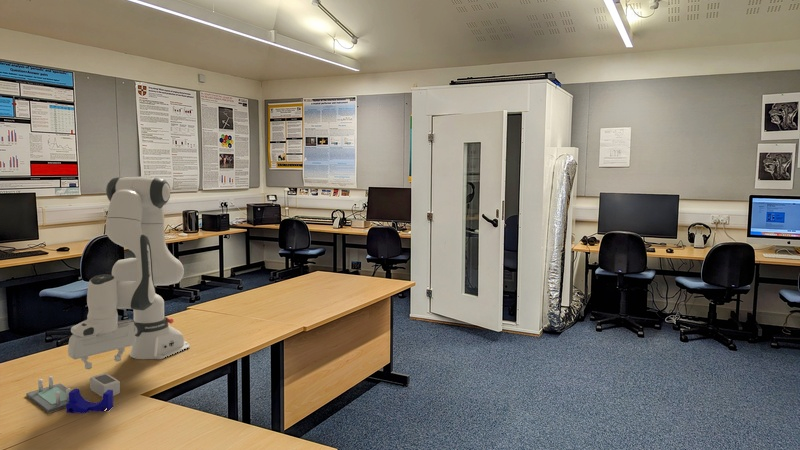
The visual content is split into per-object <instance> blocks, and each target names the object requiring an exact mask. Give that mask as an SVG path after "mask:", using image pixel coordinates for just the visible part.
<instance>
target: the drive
mask: <svg viewBox="0 0 800 450" xmlns="http://www.w3.org/2000/svg"><path fill="white" fill-rule="evenodd" d="M89 383H90V387H89V389H90V390H91V391H92V392H94V393H95V394H96V395H98V394H99V396H100V397H101V396H102V397H101V398H103V394H104V393H105V392H106V391H107V390H113V395H114V396H117V395H119V393H120V394H121V381H119V380H118V379H116V378H115V377H113V376H112V375H110V374H108V373H107V372H104V373H100V374H97V375H94V376H90V377H89ZM116 394H117V395H116Z"/></svg>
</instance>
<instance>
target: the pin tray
mask: <svg viewBox="0 0 800 450" xmlns="http://www.w3.org/2000/svg"><path fill="white" fill-rule="evenodd" d="M37 383H38V386H37V387H38V389H36V390H33V391H29V392H27V393H25V394H26V397H27V398H28V399H29V400H31V402H34V403H35V404H36V405H37V406H38V407H40V408H41V410H43V411H45V412H46V413H48V414H50V413H52V412H53V413H54V412H57V411H59V410H63V409H65V408H66V404H67V403H68V402H69V392H70V391H72V390H71V388H70V387H66V386H65V385H64V384H62V383H56V384H54V376H52V375H51V376H48V386H45V387H44V379H42V378H40V379H38V380H37Z"/></svg>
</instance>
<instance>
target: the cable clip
mask: <svg viewBox="0 0 800 450" xmlns="http://www.w3.org/2000/svg"><path fill="white" fill-rule="evenodd" d="M112 407H113V408H114V396H113V390H107V391H106V392H105V393H104V394H103V397H101V400H100V401H96V402H93V401H88V400H87V399H85V398H84V397H83V396H82V393H81V391H80V388H73V389H72V390H71V391H70V392H69V402H68V403H67V404H66V410H65V411H66V414H68V413H69V414H87V413H89V412H105V411H104V410H105V409H106V408H107V410H106V411H109V410H110V409H111V408H112ZM113 408H112V409H113ZM112 409H111V410H112ZM111 410H110V411H111ZM110 411H109V412H110Z"/></svg>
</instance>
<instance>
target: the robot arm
mask: <svg viewBox="0 0 800 450" xmlns="http://www.w3.org/2000/svg"><path fill="white" fill-rule="evenodd" d="M105 193H106V197H107V199H108V201H109V205H108V209H107V214H106V221H105V233H106V235H107V237H108V239H109V240H111V242H113V244H116V245H119V246H120V247H122V248H125V249H126V250H127V249H128V250H129V251H131V252H132V253H133V254H134V256H135V257H128V258H124V259H118V260H117V261H116V262H115V263H114V265H113V266H112V269H111V274H98V275H94V276H93V277H91V278H90V279H89V281H88V285H87V295H86V303H87V304H86V306H87V307H88V312H87V316H86V317H87V319H85V320H83V321H81V322H79V323H78V324H77V323H76V325H73V326H71V328H70V332H71V334H72V335H70V337H69V340H68V345H67V346H68V348H67V353H68V357H69V358H71V359H72V360H73V359H74V360H79V359H80V360H81V361H82V362H83V363H84V368H85V370H89V369H90V370H91V369H92V368H93V363H92V362H90V361H88V360H89V357H91V356H94V355H95V356H96V355H100V354H104V353H107V352H111V351H115V350H118V352H117V354H116V355H114V359H113V360H114V362H121V361H122V355H123V354H124V352H125V351H126V350H125V349H126V348H127V347H130V351H129V356H130V358H133V359H136V360H163V359H165V357H166V358H168V357H170V355H171V356H173V355H175V353H176V354H178V353H181V352H183V351H185V350H184V349H186V350H188V349H190V348H191V347H190V343H189V342H187V341H186V340H184V336H183V333H182V332H181V331H179V330H178V329H176V328H174V327H173V326H172V325H171V324H173V323H174V319H173V318H172V317H167V316H165V300H164V299H163V297H162V296H161V295H159V294H157V293H156V288H155V286H168V285H169V286H170V285H175V284H179V282H181V280H182V279H183V278H184V274H185V269H184V265H183V263H182V262H181V261H180V259H178V258H176V257H175V256H174V255H173V254H172V253H171V251H170V250H169V249H168V246H167V243H166V237H165V235H166V234H165V213H164V206H165V205H166V204H167V203H168V202H169V199H170V196H171V185H170V184H169V183H168V181H167V180H166V179H163V178H161V177H150V176H149V177H148V176H128V177H127V176H125V177H123V176H118V177H113V178H111V179H110V180H109V181H108V183H107V184H106V187H105ZM118 309H119V310H121V309H122V310H123V309H124V310H125V309H128V310H133V312H132V313H133V319H130V318H128V319H123V320H119V314H118ZM189 347H190V348H189ZM187 348H188V349H187ZM182 350H183V351H182ZM180 351H181V352H180ZM177 352H178V353H177ZM172 354H173V355H172ZM167 356H168V357H167Z"/></svg>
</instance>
